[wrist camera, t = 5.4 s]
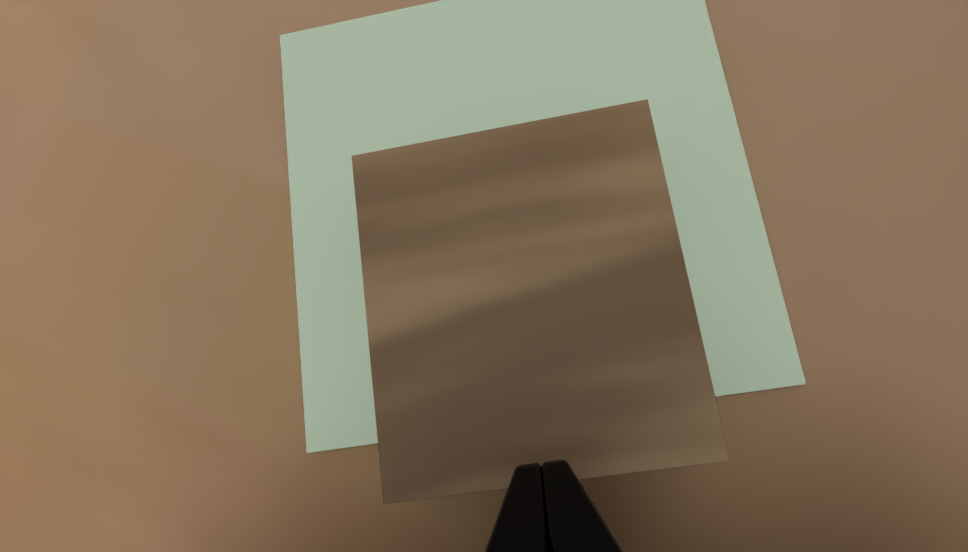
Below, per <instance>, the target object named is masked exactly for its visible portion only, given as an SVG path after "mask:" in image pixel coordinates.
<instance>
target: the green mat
mask: <svg viewBox="0 0 968 552" xmlns="http://www.w3.org/2000/svg"><path fill="white" fill-rule="evenodd" d="M280 45H281V60H282V76H283V91H284V107H285V122H286V138H287V153H288V169H289V184H290V200H291V215H292V231H293V246H294V262H295V277H296V293H297V308H298V324H299V339H300V355H301V370H302V386H303V401H304V417H305V432H306V448H307V453H310V452H318V451H325V450H332V449H339V448H347V447H354V446H361V445H368V444H376V443H378V438H377V428H376V417H375V406H374V395H373V384H372V373H371V362H370V352H369V341H368V330H367V319H366V308H365V297H364V286H363V275H362V265H361V254H360V243H359V232H358V221H357V210H356V199H355V189H354V178H353V167H352V156H353V155H359V154H364V153H369V152H374V151H379V150H385V149H390V148H395V147H400V146H406V145H411V144H416V143H421V142H426V141H432V140H437V139H442V138H447V137H453V136H458V135H463V134H468V133H474V132H479V131H484V130H489V129H494V128H500V127H505V126H510V125H515V124H521V123H526V122H531V121H536V120H541V119H547V118H552V117H557V116H562V115H568V114H573V113H578V112H583V111H589V110H594V109H599V108H604V107H609V106H615V105H620V104H625V103H630V102H636V101H641V100H646V99H648V103H649V107H650V111H651V116H652V120H653V125H654V129H655V133H656V138H657V142H658V147H659V151H660V155H661V160H662V164H663V169H664V173H665V177H666V182H667V186H668V191H669V195H670V199H671V204H672V208H673V213H674V217H675V221H676V226H677V230H678V235H679V239H680V243H681V248H682V252H683V257H684V261H685V265H686V270H687V274H688V279H689V283H690V287H691V292H692V296H693V301H694V305H695V309H696V314H697V318H698V323H699V327H700V331H701V336H702V340H703V345H704V349H705V353H706V358H707V362H708V367H709V371H710V376H711V380H712V384H713V389H714V393H715V396H723V395H730V394H737V393H744V392H752V391H759V390H766V389H773V388H781V387H788V386H795V385H802V384H806V382H805V378H804V374H803V370H802V367H801V363H800V359H799V355H798V352H797V348H796V344H795V340H794V336H793V333H792V329H791V325H790V321H789V318H788V314H787V310H786V306H785V302H784V299H783V295H782V291H781V287H780V284H779V280H778V276H777V272H776V269H775V265H774V261H773V257H772V253H771V250H770V246H769V242H768V238H767V235H766V231H765V227H764V223H763V219H762V216H761V212H760V208H759V204H758V201H757V197H756V193H755V189H754V185H753V182H752V178H751V174H750V170H749V167H748V163H747V159H746V155H745V151H744V148H743V144H742V140H741V136H740V133H739V129H738V125H737V121H736V117H735V114H734V110H733V106H732V102H731V99H730V95H729V91H728V87H727V83H726V80H725V76H724V72H723V68H722V65H721V61H720V57H719V53H718V50H717V46H716V42H715V38H714V34H713V31H712V27H711V23H710V19H709V16H708V12H707V8H706V4H705V0H441V1H436V2H432V3H427V4H422V5H418V6H413V7H408V8H404V9H399V10H395V11H390V12H385V13H381V14H376V15H372V16H367V17H362V18H358V19H353V20H348V21H344V22H339V23H335V24H330V25H325V26H321V27H316V28H312V29H307V30H302V31H298V32H293V33H288V34H284V35H280Z"/></svg>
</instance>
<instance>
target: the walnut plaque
mask: <svg viewBox="0 0 968 552" xmlns="http://www.w3.org/2000/svg"><path fill="white" fill-rule="evenodd" d="M352 167H353V178H354V189H355V199H356V210H357V221H358V232H359V243H360V254H361V265H362V275H363V286H364V297H365V308H366V319H367V330H368V341H369V352H370V362H371V373H372V384H373V395H374V406H375V417H376V428H377V438H378V449H379V460H380V471H381V482H382V493H383V504H390V503H398V502H406V501H414V500H422V499H430V498H438V497H446V496H454V495H461V494H469V493H477V492H485V491H493V490H501V489H508V487H509V484H510V481H511V478H512V475H513V473H514V470H515V468H516V467H517V466H518V465H523V464H530V463H539V464H540V465H541V467H542V464H543V463H544V462H546V461H553V460H561V459H563V460H566V461H567V462H568V464H569V465H570V467H571V468H572V470H573V472H574V473H575V475H576V476H577V478H578V480H580V479H588V478H596V477H604V476H612V475H620V474H627V473H635V472H643V471H651V470H659V469H667V468H675V467H683V466H691V465H699V464H706V463H714V462H722V461H730V459H729V455H728V450H727V446H726V442H725V437H724V433H723V428H722V424H721V420H720V415H719V411H718V406H717V402H716V398H715V393H714V389H713V384H712V380H711V376H710V371H709V367H708V362H707V358H706V353H705V349H704V345H703V340H702V336H701V331H700V327H699V323H698V318H697V314H696V309H695V305H694V301H693V296H692V292H691V287H690V283H689V279H688V274H687V270H686V265H685V261H684V257H683V252H682V248H681V243H680V239H679V235H678V230H677V226H676V221H675V217H674V213H673V208H672V204H671V199H670V195H669V191H668V186H667V182H666V177H665V173H664V169H663V164H662V160H661V155H660V151H659V147H658V142H657V138H656V133H655V129H654V125H653V120H652V116H651V111H650V107H649V103H648V99H646V100H641V101H636V102H630V103H625V104H620V105H615V106H609V107H604V108H599V109H594V110H589V111H583V112H578V113H573V114H568V115H562V116H557V117H552V118H547V119H541V120H536V121H531V122H526V123H521V124H515V125H510V126H505V127H500V128H494V129H489V130H484V131H479V132H474V133H468V134H463V135H458V136H453V137H447V138H442V139H437V140H432V141H426V142H421V143H416V144H411V145H406V146H400V147H395V148H390V149H385V150H379V151H374V152H369V153H364V154H359V155H353V156H352Z"/></svg>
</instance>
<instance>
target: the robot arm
mask: <svg viewBox="0 0 968 552" xmlns="http://www.w3.org/2000/svg"><path fill="white" fill-rule="evenodd" d="M485 552H623V551H622V550H621V548H620V546H619V545H618V543H617V542H616V540H615V538H614V537H613V535H612V533H611V532H610V530H609V529H608V527H607V525H606V524H605V522H604V520H603V519H602V517H601V516H600V514H599V512H598V511H597V509H596V507H595V506H594V504H593V503H592V501H591V499H590V498H589V496H588V494H587V493H586V491H585V489H584V488H583V486H582V485H581V483H580V481H579V480H578V478H577V476H576V475H575V473H574V472H573V470H572V468H571V467H570V465H569V464H568V462H567V461H566V460H563V459H561V460H553V461H546V462H544V463H543V464H542V467H541V465H540V464H539V463H530V464H523V465H518V466H517V467H516V468H515V470H514V473H513V475H512V478H511V481H510V484H509V487H508V489H507V492H506V495H505V498H504V500H503V503H502V506H501V509H500V512H499V514H498V517H497V520H496V523H495V525H494V528H493V531H492V534H491V537H490V539H489V542H488V545H487V548H486V550H485Z"/></svg>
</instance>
